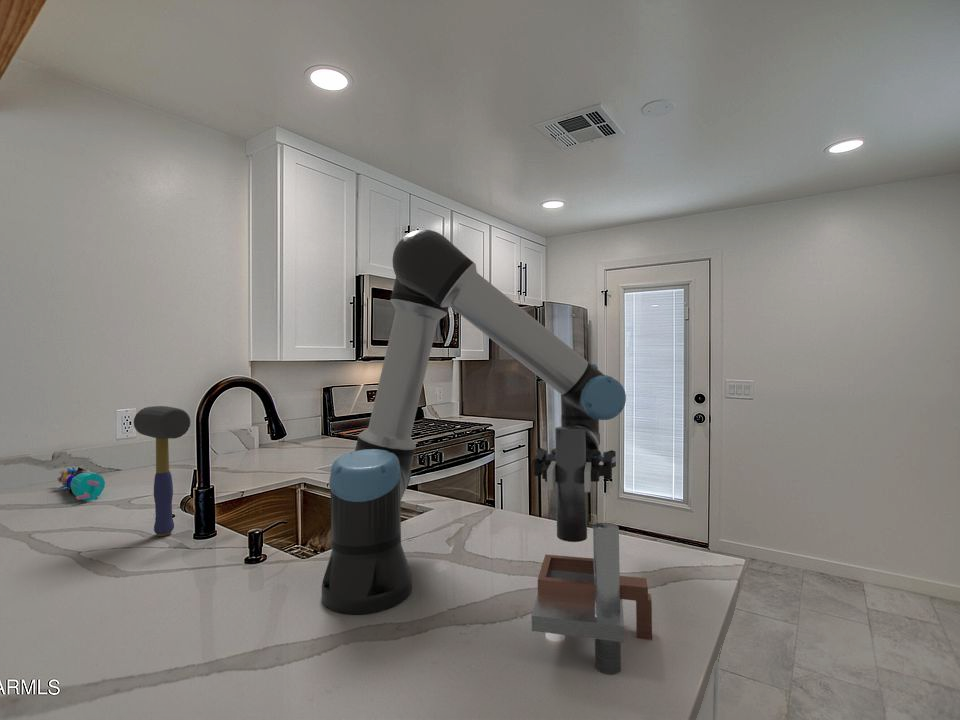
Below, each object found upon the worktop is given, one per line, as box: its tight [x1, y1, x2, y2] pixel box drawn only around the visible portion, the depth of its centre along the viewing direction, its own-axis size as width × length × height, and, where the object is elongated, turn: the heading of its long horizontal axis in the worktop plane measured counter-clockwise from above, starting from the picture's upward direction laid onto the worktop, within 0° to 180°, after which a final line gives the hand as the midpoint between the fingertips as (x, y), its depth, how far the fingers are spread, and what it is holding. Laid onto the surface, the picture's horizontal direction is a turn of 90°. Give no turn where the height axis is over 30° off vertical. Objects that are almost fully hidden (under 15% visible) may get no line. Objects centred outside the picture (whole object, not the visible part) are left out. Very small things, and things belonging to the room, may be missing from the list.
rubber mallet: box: [133, 405, 191, 537], centre depth 113 cm, size 12×8×30 cm, turn 60°
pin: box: [554, 426, 588, 543], centre depth 72 cm, size 4×4×16 cm
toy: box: [57, 466, 106, 502], centre depth 151 cm, size 8×8×30 cm
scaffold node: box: [531, 522, 653, 675], centre depth 68 cm, size 16×15×18 cm
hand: (568, 481), depth 67 cm, fingers closed on pin, 4 cm apart
